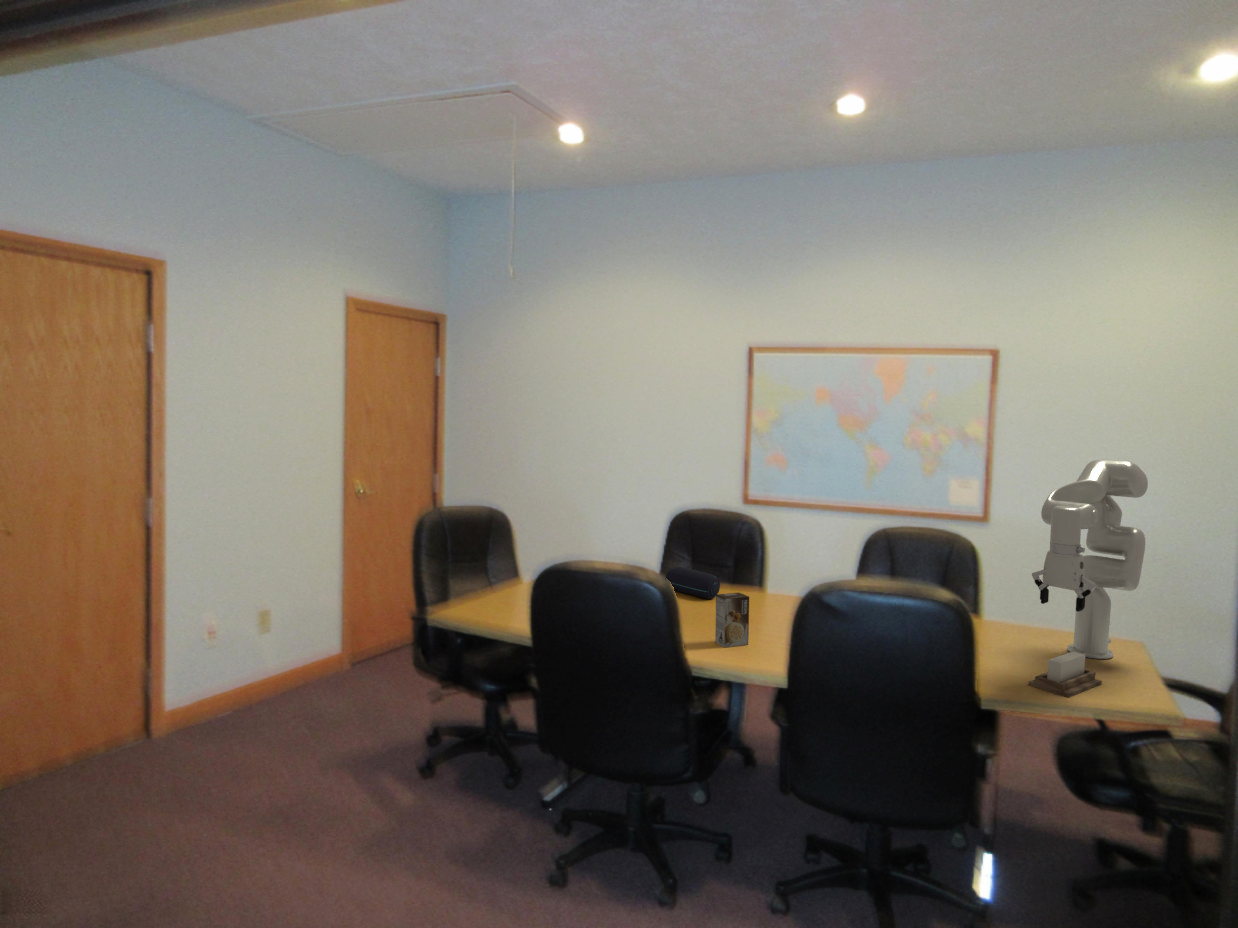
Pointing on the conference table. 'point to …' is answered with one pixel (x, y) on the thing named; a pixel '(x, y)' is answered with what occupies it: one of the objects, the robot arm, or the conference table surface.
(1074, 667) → the light grey block
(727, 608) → the coffee box
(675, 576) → the portable speaker
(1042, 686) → the rack
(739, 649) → the conference table surface
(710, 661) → the conference table surface
